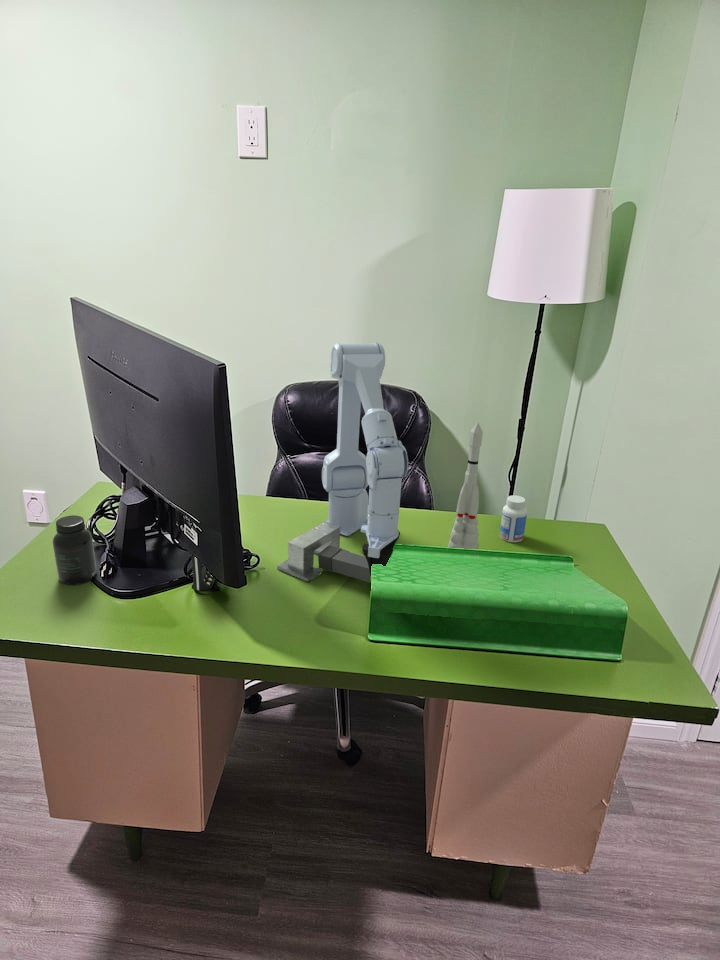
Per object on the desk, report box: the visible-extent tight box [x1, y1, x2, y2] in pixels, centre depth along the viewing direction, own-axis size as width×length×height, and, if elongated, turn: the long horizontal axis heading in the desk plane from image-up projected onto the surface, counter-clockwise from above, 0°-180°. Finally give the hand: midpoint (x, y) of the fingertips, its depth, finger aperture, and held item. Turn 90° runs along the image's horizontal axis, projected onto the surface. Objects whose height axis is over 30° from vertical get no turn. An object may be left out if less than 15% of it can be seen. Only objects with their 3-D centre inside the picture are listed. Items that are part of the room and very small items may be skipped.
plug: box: [317, 546, 371, 583], centre depth 124 cm, size 4×16×3 cm, turn 60°
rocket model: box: [447, 422, 484, 550], centre depth 130 cm, size 7×7×30 cm
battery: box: [190, 554, 216, 591], centre depth 120 cm, size 7×4×11 cm, turn 177°
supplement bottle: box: [52, 514, 97, 586], centre depth 120 cm, size 7×7×12 cm
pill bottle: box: [499, 494, 528, 543], centre depth 143 cm, size 6×5×10 cm
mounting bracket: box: [276, 520, 351, 582], centre depth 130 cm, size 14×8×6 cm, turn 145°
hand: (379, 572), depth 122 cm, fingers closed on plug, 4 cm apart
